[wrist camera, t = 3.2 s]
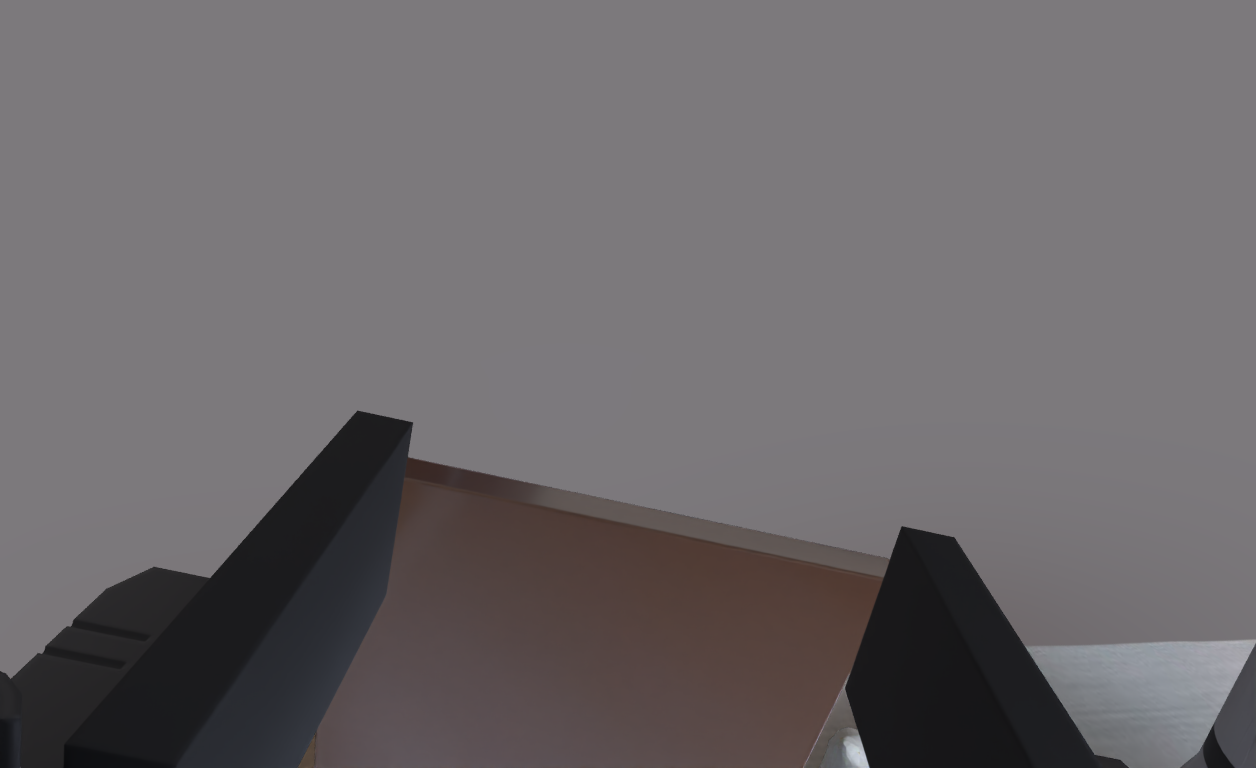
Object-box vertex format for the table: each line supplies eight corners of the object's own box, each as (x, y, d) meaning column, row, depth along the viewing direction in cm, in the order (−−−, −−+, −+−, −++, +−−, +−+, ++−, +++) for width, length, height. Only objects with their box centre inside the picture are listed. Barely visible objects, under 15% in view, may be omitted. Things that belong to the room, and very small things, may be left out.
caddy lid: (338, 441, 21) (326, 462, 20) (890, 556, 21) (896, 581, 20) (319, 822, 28) (309, 847, 27) (726, 901, 29) (726, 927, 28)
